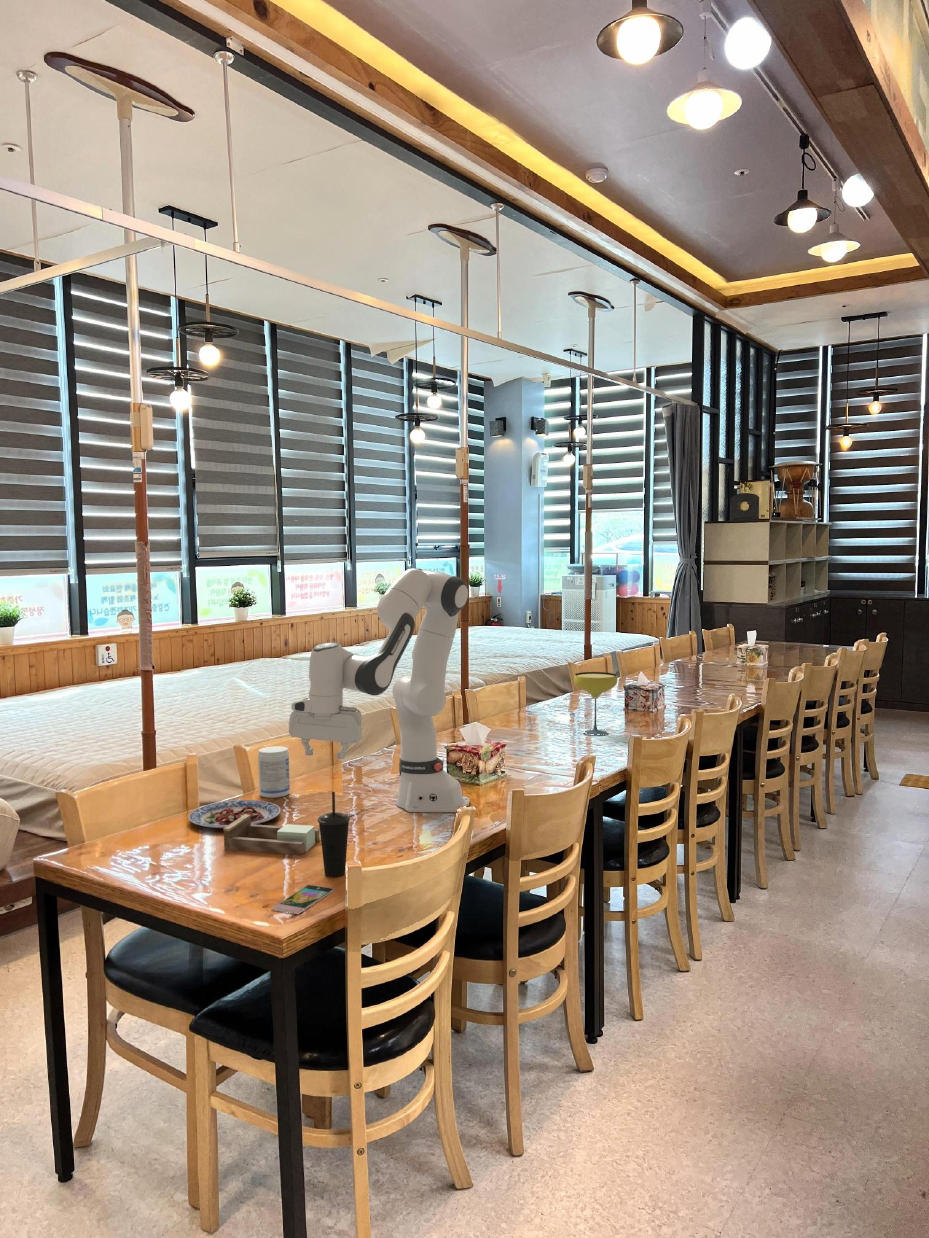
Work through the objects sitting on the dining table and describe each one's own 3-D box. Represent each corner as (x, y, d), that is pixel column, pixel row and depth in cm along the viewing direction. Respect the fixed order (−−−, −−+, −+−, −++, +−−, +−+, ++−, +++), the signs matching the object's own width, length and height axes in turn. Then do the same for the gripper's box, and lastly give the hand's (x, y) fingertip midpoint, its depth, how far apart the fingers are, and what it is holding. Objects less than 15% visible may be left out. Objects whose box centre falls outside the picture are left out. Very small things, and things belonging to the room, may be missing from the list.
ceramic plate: (282, 804, 265) (282, 795, 265) (278, 831, 240) (278, 820, 239) (195, 809, 261) (195, 799, 260) (182, 836, 235) (182, 826, 235)
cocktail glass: (593, 727, 378) (594, 670, 376) (625, 733, 364) (626, 675, 362) (564, 732, 367) (565, 674, 365) (597, 739, 353) (597, 679, 351)
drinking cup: (320, 868, 211) (318, 788, 209) (351, 867, 211) (350, 787, 210) (317, 880, 203) (315, 797, 201) (350, 879, 204) (348, 796, 202)
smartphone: (335, 888, 197) (299, 913, 184) (335, 891, 197) (299, 917, 184) (308, 884, 200) (270, 908, 186) (308, 887, 200) (270, 911, 186)
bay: (319, 839, 232) (319, 819, 231) (301, 855, 220) (300, 833, 219) (245, 834, 236) (245, 814, 236) (224, 849, 224) (223, 828, 224)
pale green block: (315, 843, 229) (315, 825, 229) (306, 852, 223) (305, 833, 222) (286, 842, 231) (286, 823, 230) (277, 850, 224) (276, 831, 224)
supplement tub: (294, 795, 274) (293, 750, 273) (265, 800, 269) (264, 754, 267) (282, 788, 282) (282, 744, 281) (254, 793, 277) (253, 748, 276)
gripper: (366, 706, 226) (365, 758, 227) (298, 700, 233) (297, 750, 234) (355, 709, 220) (354, 763, 221) (285, 703, 227) (285, 755, 228)
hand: (324, 756), depth 227 cm, fingers open, 8 cm apart
